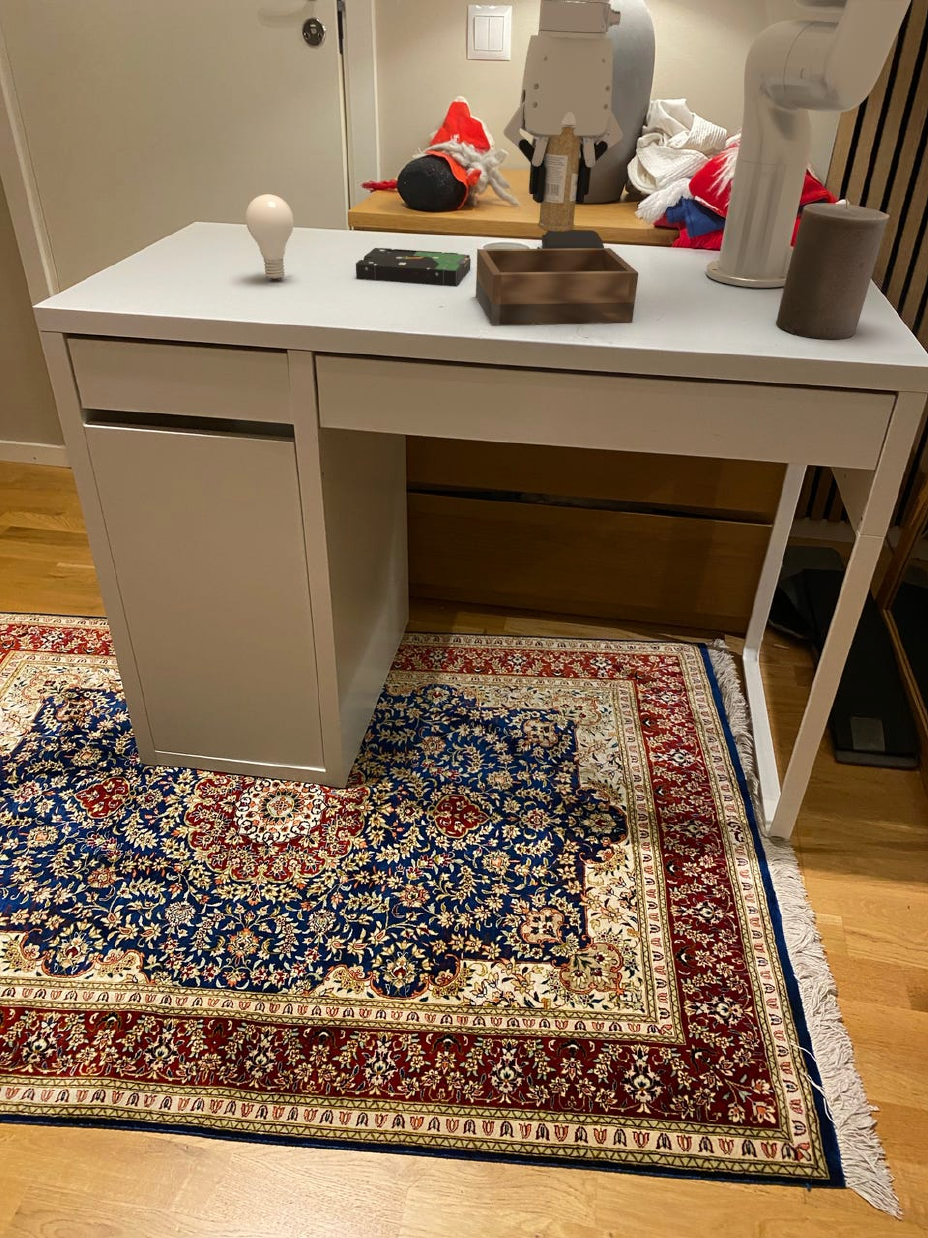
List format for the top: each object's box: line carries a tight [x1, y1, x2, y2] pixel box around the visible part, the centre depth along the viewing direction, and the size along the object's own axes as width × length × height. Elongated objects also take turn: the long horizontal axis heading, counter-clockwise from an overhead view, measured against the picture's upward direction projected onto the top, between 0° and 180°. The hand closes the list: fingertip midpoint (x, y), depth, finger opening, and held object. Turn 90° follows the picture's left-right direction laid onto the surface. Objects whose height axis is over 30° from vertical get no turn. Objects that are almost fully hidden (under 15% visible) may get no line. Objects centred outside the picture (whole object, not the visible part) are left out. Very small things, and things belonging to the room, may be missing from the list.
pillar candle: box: [775, 198, 890, 340], centre depth 109 cm, size 10×10×15 cm
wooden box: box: [475, 247, 639, 326], centre depth 115 cm, size 18×13×6 cm
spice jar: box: [537, 112, 581, 232], centre depth 107 cm, size 5×5×13 cm
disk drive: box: [355, 247, 471, 288], centre depth 130 cm, size 10×3×15 cm
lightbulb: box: [245, 193, 295, 282], centre depth 122 cm, size 6×6×11 cm
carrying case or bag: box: [536, 229, 605, 249], centre depth 141 cm, size 11×3×15 cm
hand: (557, 199), depth 109 cm, fingers closed on spice jar, 4 cm apart
